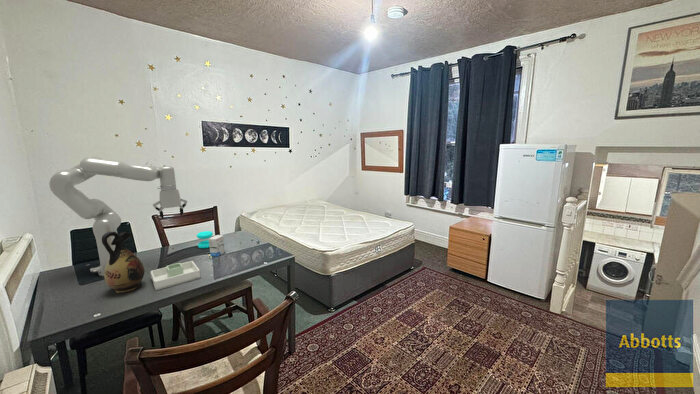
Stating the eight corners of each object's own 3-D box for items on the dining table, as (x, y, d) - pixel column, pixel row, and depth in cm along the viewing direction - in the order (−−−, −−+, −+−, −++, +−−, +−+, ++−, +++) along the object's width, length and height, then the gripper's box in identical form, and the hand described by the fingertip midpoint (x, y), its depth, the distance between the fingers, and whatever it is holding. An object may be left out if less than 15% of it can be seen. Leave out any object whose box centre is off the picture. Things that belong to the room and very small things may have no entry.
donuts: (193, 235, 188) (200, 230, 198) (195, 249, 190) (202, 244, 200) (208, 234, 189) (215, 230, 199) (210, 248, 191) (216, 243, 201)
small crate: (169, 280, 144) (168, 270, 143) (167, 276, 149) (166, 265, 148) (184, 277, 148) (182, 266, 147) (181, 272, 153) (180, 262, 152)
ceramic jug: (133, 278, 149) (125, 224, 143) (153, 283, 143) (145, 227, 137) (95, 294, 133) (84, 234, 127) (115, 301, 127) (105, 238, 122)
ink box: (216, 256, 177) (215, 239, 175) (209, 256, 178) (208, 238, 176) (225, 251, 185) (223, 235, 183) (218, 251, 186) (217, 234, 184)
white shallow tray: (155, 290, 136) (154, 282, 136) (151, 278, 148) (150, 271, 147) (200, 278, 149) (199, 270, 149) (193, 268, 161) (192, 260, 160)
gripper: (151, 190, 154) (155, 220, 157) (186, 187, 165) (190, 215, 168) (149, 188, 159) (153, 217, 162) (184, 185, 170) (187, 212, 174)
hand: (172, 216), depth 165 cm, fingers open, 9 cm apart
